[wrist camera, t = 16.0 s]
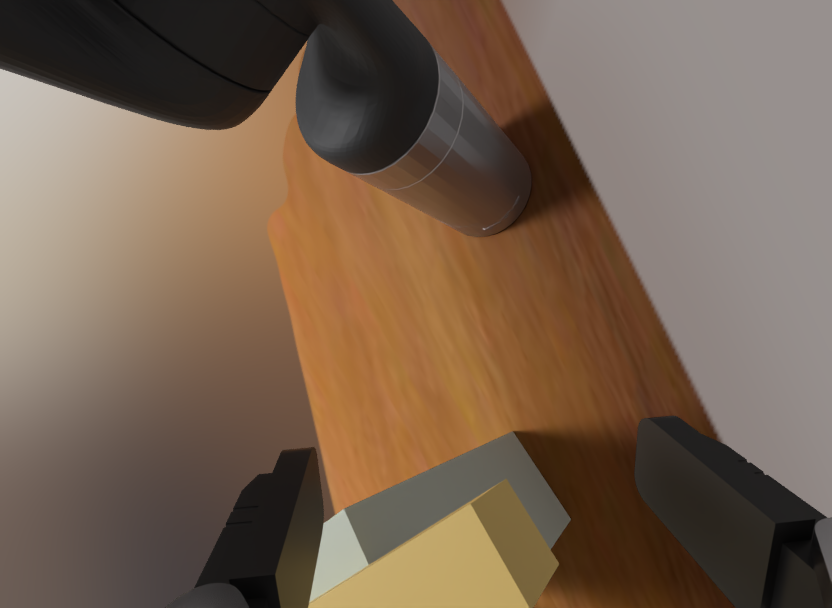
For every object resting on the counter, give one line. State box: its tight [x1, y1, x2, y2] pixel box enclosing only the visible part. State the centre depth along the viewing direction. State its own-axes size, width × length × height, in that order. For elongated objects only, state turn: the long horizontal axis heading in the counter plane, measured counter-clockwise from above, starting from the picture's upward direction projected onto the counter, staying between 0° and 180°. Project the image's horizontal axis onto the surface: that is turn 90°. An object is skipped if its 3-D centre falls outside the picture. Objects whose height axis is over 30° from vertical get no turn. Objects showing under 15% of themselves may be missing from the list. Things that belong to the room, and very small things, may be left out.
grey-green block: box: [309, 431, 571, 602], centre depth 28 cm, size 8×10×22 cm
